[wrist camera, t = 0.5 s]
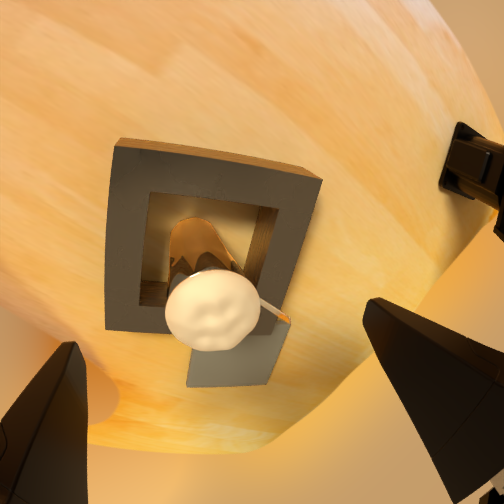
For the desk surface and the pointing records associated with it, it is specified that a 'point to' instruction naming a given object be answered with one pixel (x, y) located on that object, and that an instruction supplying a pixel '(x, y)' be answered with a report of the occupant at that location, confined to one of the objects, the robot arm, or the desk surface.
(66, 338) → the desk surface
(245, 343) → the pad
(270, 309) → the milkshake
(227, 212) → the desk surface
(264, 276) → the collar
